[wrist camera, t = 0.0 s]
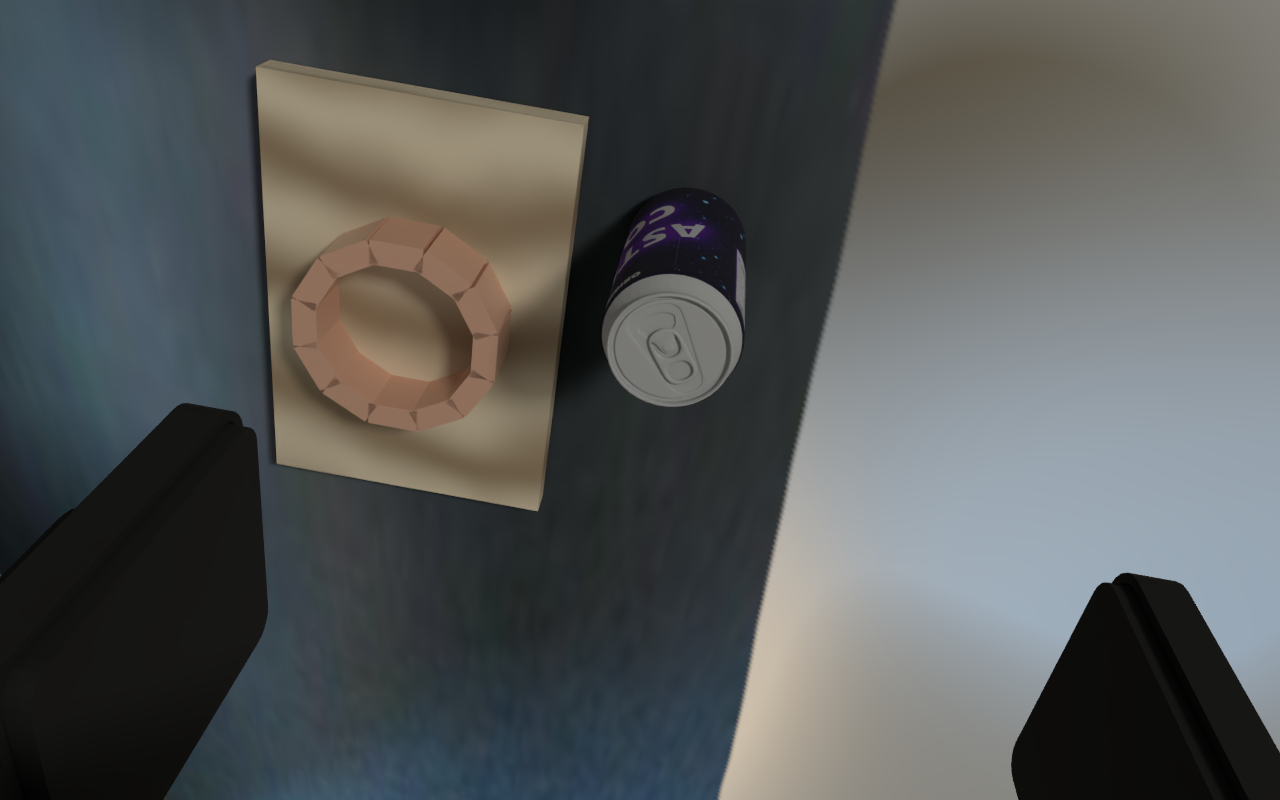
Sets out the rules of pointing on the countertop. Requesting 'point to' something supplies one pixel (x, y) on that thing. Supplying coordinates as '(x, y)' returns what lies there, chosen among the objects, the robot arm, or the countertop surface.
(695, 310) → the beverage can
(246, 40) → the countertop surface
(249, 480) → the robot arm
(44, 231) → the countertop surface
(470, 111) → the base board
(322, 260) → the segmented ring
